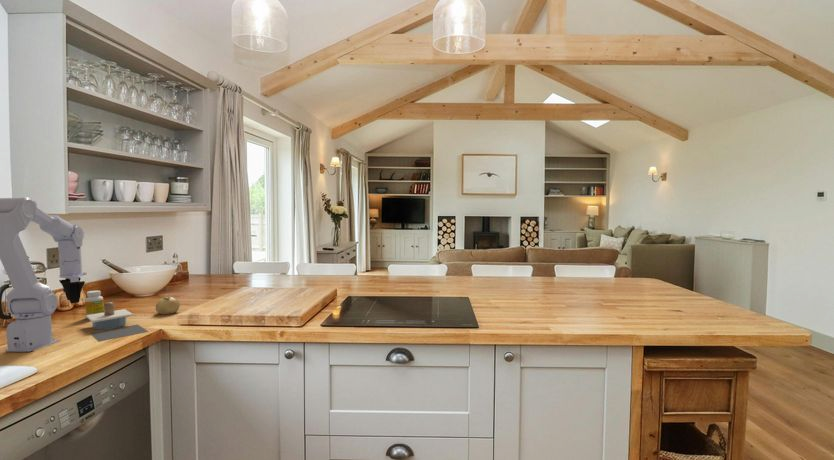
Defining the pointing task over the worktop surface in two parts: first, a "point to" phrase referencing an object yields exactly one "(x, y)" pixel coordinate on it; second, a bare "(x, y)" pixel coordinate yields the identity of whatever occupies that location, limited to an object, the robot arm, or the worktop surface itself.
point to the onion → (167, 305)
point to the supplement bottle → (94, 303)
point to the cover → (109, 313)
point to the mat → (118, 332)
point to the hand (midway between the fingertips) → (73, 301)
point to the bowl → (109, 323)
